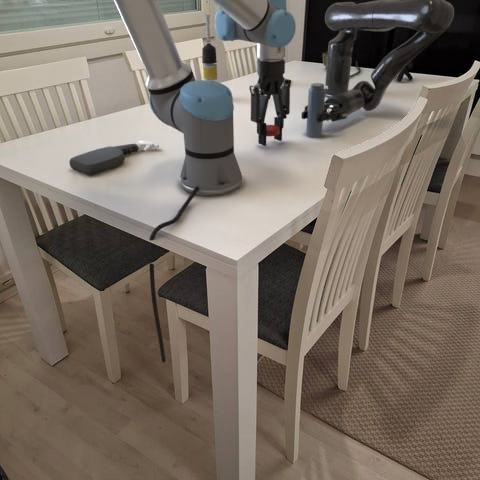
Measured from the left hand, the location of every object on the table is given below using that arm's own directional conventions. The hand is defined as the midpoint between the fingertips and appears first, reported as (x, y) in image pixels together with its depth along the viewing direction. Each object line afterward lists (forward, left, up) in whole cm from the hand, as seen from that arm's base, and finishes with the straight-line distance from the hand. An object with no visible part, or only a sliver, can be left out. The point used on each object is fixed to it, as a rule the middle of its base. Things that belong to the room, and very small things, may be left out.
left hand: (270, 141), depth 132 cm
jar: (+13, -11, -1) cm, 17 cm away
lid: (0, 0, +4) cm, 4 cm away
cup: (+110, +2, -1) cm, 110 cm away
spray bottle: (-24, +38, -1) cm, 45 cm away
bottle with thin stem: (+44, +37, -1) cm, 58 cm away
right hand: (+10, -10, +5) cm, 15 cm away
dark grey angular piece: (+97, -32, -1) cm, 102 cm away
